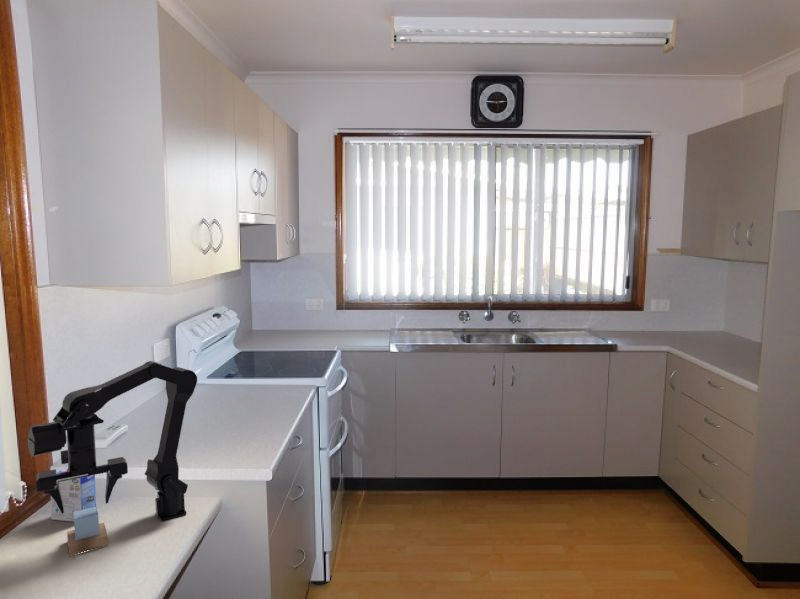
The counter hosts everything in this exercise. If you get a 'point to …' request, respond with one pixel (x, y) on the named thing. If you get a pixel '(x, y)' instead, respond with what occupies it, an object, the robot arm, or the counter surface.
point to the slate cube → (86, 523)
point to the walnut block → (87, 541)
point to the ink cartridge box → (74, 497)
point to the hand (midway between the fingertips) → (85, 507)
